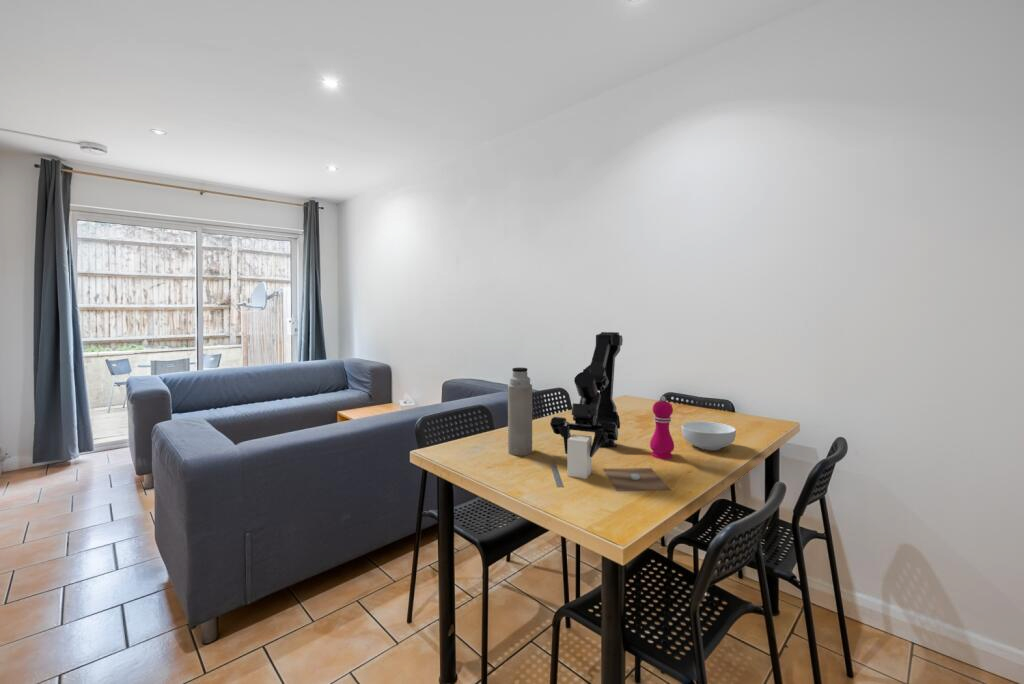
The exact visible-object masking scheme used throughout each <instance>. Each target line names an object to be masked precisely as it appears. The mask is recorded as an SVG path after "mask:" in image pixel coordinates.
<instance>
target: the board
mask: <svg viewBox="0 0 1024 684" xmlns="http://www.w3.org/2000/svg"><path fill="white" fill-rule="evenodd" d="M602 470H603V472H604V474H606V476H607V478H608V479H609V481H610V482H611V484H612V486H613V487H614V489H615V491H616V492H642V491H643V492H644V491H645V492H649V491H650V492H651V491H652V492H653V491H659V492H660V491H662V492H663V491H672V489H671V488H670V486H668V485H667V484H666V482H665V481H663V479H662V478H661V477H660V476H659V475H658V474H657V473H656V472H655V471H654V470H653V468H652V467H639V468H638V467H637V468H636V467H633V468H632V467H631V468H629V467H628V468H626V467H625V468H619V467H618V468H602ZM631 474H639V475H640V480H632V479H631Z"/></svg>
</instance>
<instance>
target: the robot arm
mask: <svg viewBox="0 0 1024 684" xmlns="http://www.w3.org/2000/svg"><path fill="white" fill-rule="evenodd" d="M623 339H624V338H623V335H620V332H618V331H617V332H615V331H614V332H613V331H612V332H611V331H607V332H606V331H601V332H600V333H599V334H598V333H597V334H596V335H595V347H594V351H593V355H592V358H591V362H590V364H589V365H588V366H586V367H585V368H583V371H581V372H579V373H578V374H576V375H575V377H574V380H573V381H574V382H573V383H574V384H575V388H576V391H577V394H578V396H579V397H580V399H579V403H572V406H571V407H572V409H571V416H572V420H573V421H574V422H569V421H567V418H566V417H561V416H553V417H551V420H550V423H549V424H550V426H551V427H550V428H551V429H552V432H553V433H554V434H555V435H560V437H562V438H563V445H564V453H565V454H566V455H567V440H568V439H569V438H570V437H571V436H572V435H571V431H578V432H585V433H586V432H588V433H594V437H593V439H592V447H591V450H590V457H591V458H593V456H594V455H595V454H596V452H598V450H599V448H602V447H603V448H605V447H608V448H609V447H613V448H614V447H616V448H617V447H618V444H617V443H616V442H615V441H618V439H619V438H618V437H619V429H620V428H621V421H620V416H619V413H618V411H617V406H616V404H615V402H614V399H613V396H614V395H613V393H614V392H613V391H614V377H615V365H616V364H615V363H616V357H617V356H618V355H619V353H620V351H621V347H622V345H623V341H624V340H623Z"/></svg>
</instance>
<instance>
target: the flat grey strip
mask: <svg viewBox="0 0 1024 684" xmlns="http://www.w3.org/2000/svg"><path fill="white" fill-rule="evenodd" d="M550 467H551V468H550V469H551V472H552V475H553V478H554V482H555V484H556V487H557V488H564V487H565V485H564V484H563V481H562V478H561V475H560V472H559V468H558V466H557V465H550Z"/></svg>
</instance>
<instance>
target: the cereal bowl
mask: <svg viewBox="0 0 1024 684" xmlns="http://www.w3.org/2000/svg"><path fill="white" fill-rule="evenodd" d="M680 429H681V435H682V437H683V439H685V441H686V442H688V443H689V444H691V445H693V446H695V447H696V448H697V447H698V449H700V448H701V450H704V449H706V450H705V451H719V450H721V449H722V448H725V447H728V446H730V445H732V444H733V443H734V441H735V439H736V435H737V433H736V432H737V430H736V428H735V427H734V426H732V425H729V424H725V423H720V422H715V421H714V422H713V421H701V420H699V421H698V420H697V421H689V422H688V421H687V422H683V423H682V424H681V428H680Z"/></svg>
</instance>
